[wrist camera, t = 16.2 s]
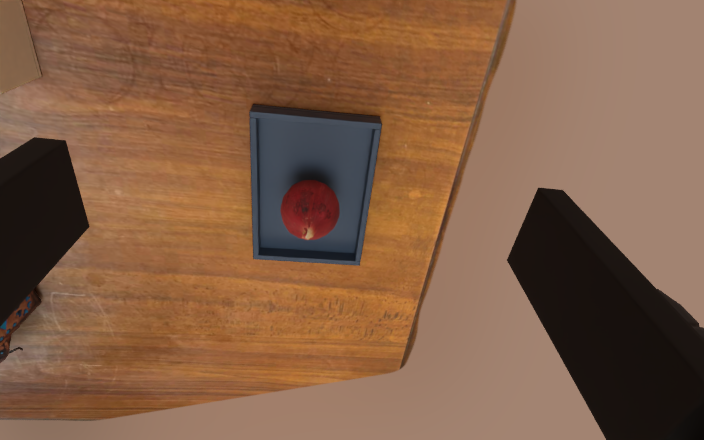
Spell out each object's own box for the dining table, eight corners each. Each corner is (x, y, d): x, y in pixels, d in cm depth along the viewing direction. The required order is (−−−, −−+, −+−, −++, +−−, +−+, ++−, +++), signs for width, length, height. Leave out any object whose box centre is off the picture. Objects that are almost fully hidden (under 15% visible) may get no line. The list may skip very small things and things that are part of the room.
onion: (281, 168, 42) (271, 209, 35) (337, 165, 42) (337, 205, 35) (288, 216, 45) (280, 262, 38) (340, 212, 45) (342, 258, 38)
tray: (253, 104, 39) (249, 111, 37) (379, 116, 40) (382, 123, 38) (256, 247, 48) (253, 259, 46) (358, 254, 49) (359, 265, 47)
